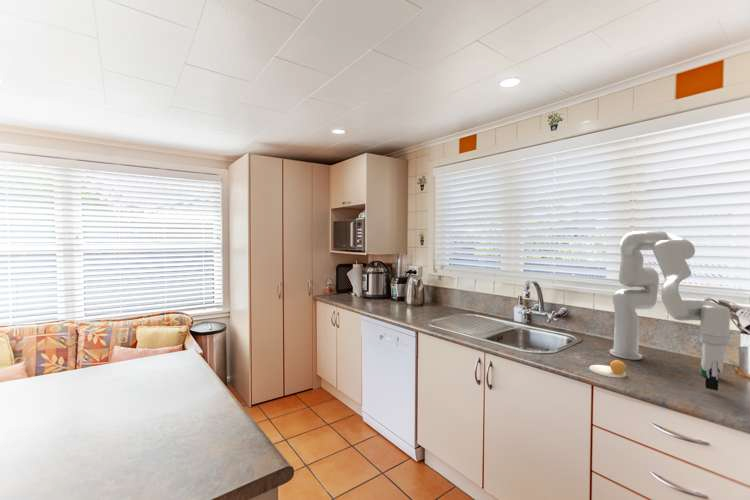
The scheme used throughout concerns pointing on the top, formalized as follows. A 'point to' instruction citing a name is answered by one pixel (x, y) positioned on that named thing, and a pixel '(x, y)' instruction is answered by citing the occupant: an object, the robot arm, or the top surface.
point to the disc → (605, 371)
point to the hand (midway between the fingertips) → (711, 388)
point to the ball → (618, 367)
